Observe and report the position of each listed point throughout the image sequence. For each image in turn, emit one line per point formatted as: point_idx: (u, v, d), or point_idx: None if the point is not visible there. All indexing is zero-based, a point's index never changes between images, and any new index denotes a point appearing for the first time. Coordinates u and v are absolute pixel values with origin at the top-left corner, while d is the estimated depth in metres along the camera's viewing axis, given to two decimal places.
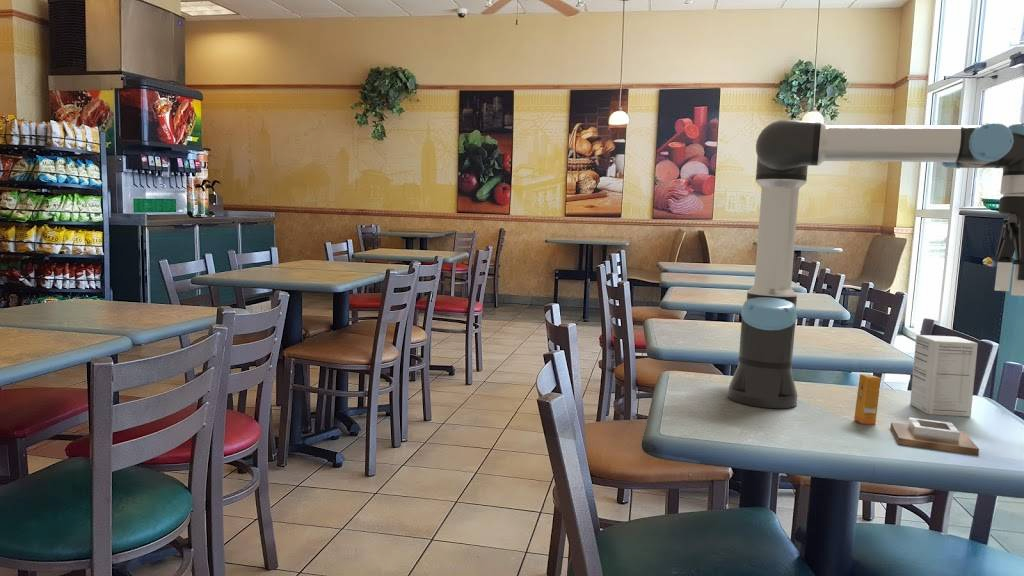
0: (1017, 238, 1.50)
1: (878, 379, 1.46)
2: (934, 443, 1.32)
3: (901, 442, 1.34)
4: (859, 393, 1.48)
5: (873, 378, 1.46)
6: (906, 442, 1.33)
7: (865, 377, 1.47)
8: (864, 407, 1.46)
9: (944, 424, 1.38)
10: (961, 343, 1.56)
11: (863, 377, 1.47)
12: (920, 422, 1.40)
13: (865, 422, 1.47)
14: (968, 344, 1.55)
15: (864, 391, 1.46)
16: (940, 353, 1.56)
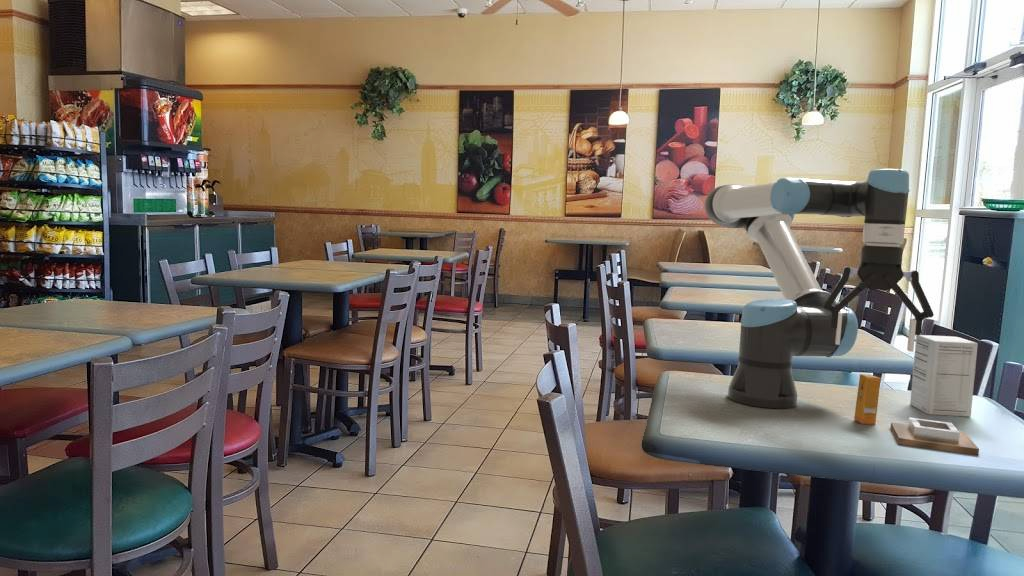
0: None
1: (878, 379, 1.46)
2: (934, 443, 1.32)
3: (901, 442, 1.34)
4: (859, 393, 1.48)
5: (873, 378, 1.46)
6: (906, 442, 1.33)
7: (865, 377, 1.47)
8: (864, 407, 1.46)
9: (944, 424, 1.38)
10: (961, 343, 1.56)
11: (863, 377, 1.48)
12: (920, 422, 1.40)
13: (865, 422, 1.47)
14: (968, 344, 1.55)
15: (864, 391, 1.46)
16: (940, 353, 1.56)
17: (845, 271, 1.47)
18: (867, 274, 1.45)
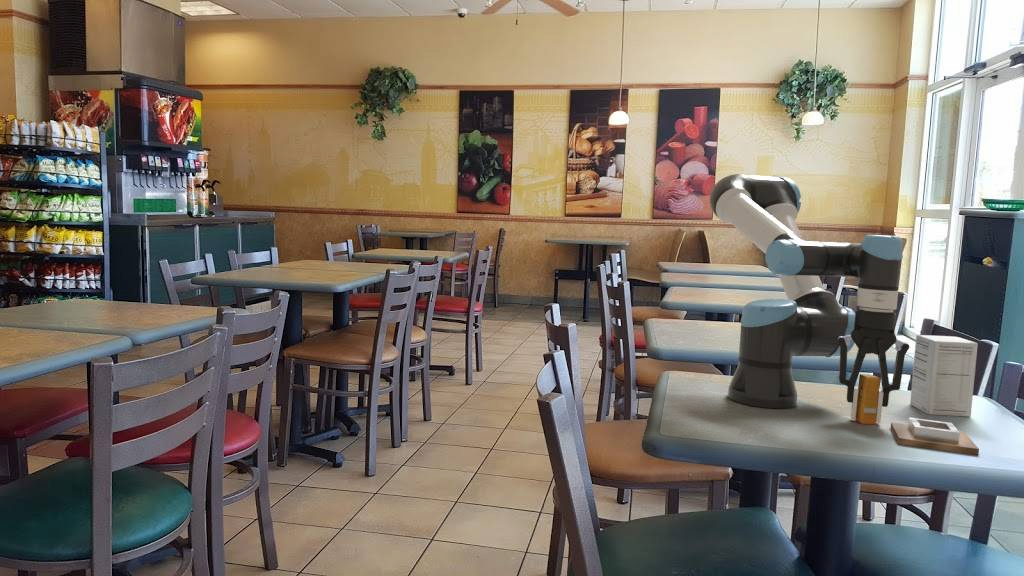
0: (856, 356, 1.49)
1: (878, 379, 1.46)
2: (934, 443, 1.32)
3: (901, 442, 1.34)
4: (859, 393, 1.48)
5: (873, 378, 1.46)
6: (906, 442, 1.33)
7: (865, 377, 1.47)
8: (864, 407, 1.46)
9: (944, 424, 1.38)
10: (961, 343, 1.56)
11: (863, 377, 1.47)
12: (920, 422, 1.40)
13: (865, 422, 1.47)
14: (968, 344, 1.55)
15: (864, 391, 1.46)
16: (940, 353, 1.56)
17: (840, 342, 1.48)
18: (861, 336, 1.47)
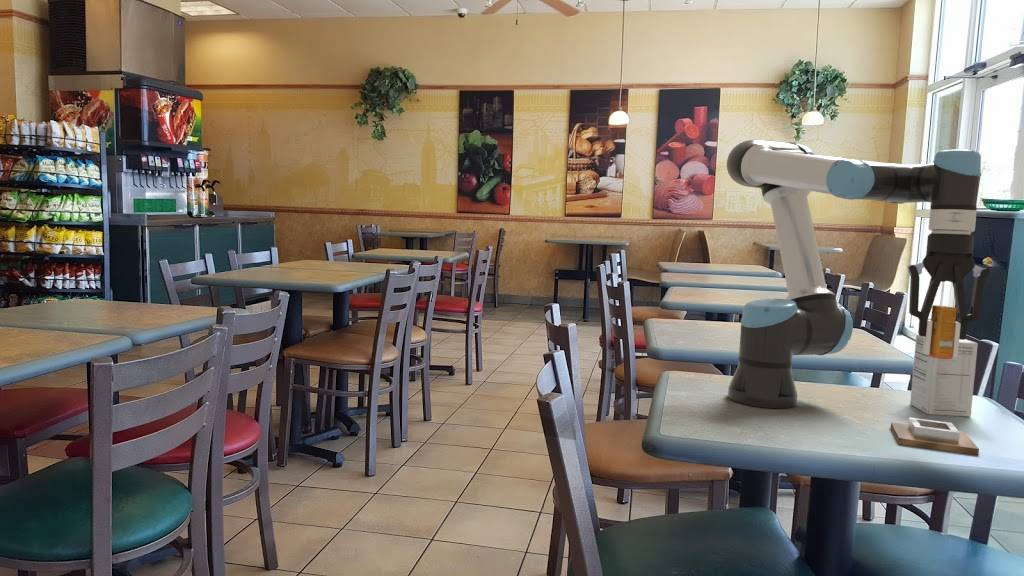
0: (929, 286, 1.36)
1: (954, 309, 1.33)
2: (934, 443, 1.32)
3: (901, 442, 1.34)
4: (932, 326, 1.35)
5: (948, 308, 1.33)
6: (906, 442, 1.33)
7: (939, 307, 1.34)
8: (939, 340, 1.33)
9: (944, 424, 1.38)
10: (961, 343, 1.56)
11: (937, 308, 1.35)
12: (920, 422, 1.40)
13: (941, 357, 1.34)
14: (968, 344, 1.55)
15: (939, 323, 1.34)
16: None
17: (911, 270, 1.35)
18: (935, 262, 1.34)
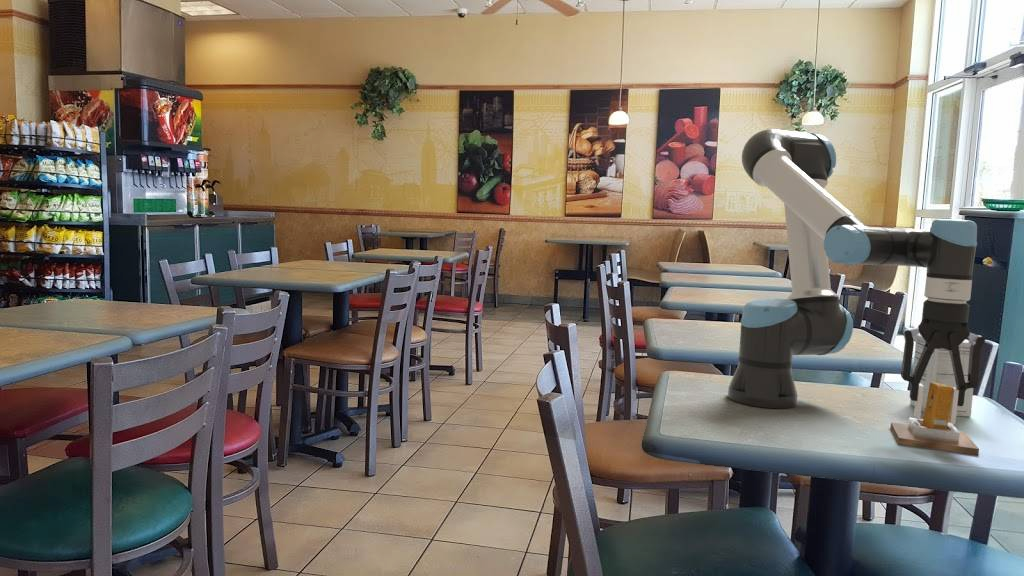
0: None
1: (951, 389, 1.34)
2: (934, 443, 1.32)
3: (901, 442, 1.34)
4: (928, 403, 1.37)
5: (945, 387, 1.34)
6: (906, 442, 1.33)
7: (936, 386, 1.35)
8: (933, 418, 1.35)
9: None
10: (961, 343, 1.56)
11: (934, 386, 1.36)
12: (920, 422, 1.40)
13: None
14: (968, 344, 1.55)
15: (934, 401, 1.35)
16: (940, 353, 1.56)
17: (907, 335, 1.36)
18: (930, 330, 1.35)
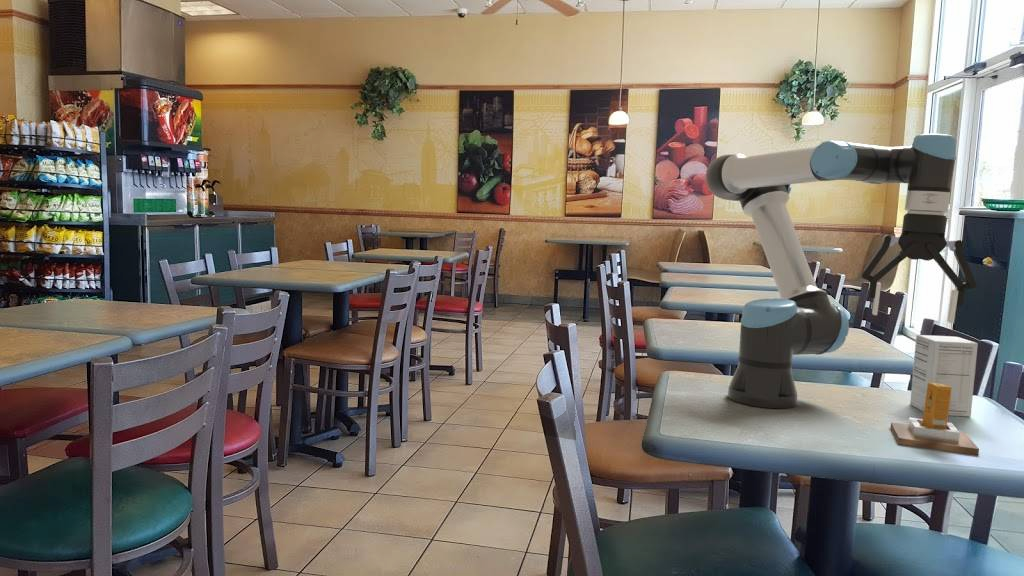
0: (894, 257, 1.44)
1: (949, 388, 1.34)
2: (934, 443, 1.32)
3: (901, 442, 1.34)
4: (927, 403, 1.37)
5: (943, 387, 1.34)
6: (906, 442, 1.33)
7: (934, 386, 1.35)
8: (933, 418, 1.35)
9: None
10: (961, 343, 1.56)
11: (932, 386, 1.36)
12: (920, 422, 1.40)
13: None
14: (968, 344, 1.55)
15: (933, 401, 1.35)
16: (940, 353, 1.56)
17: (885, 240, 1.43)
18: (908, 243, 1.41)
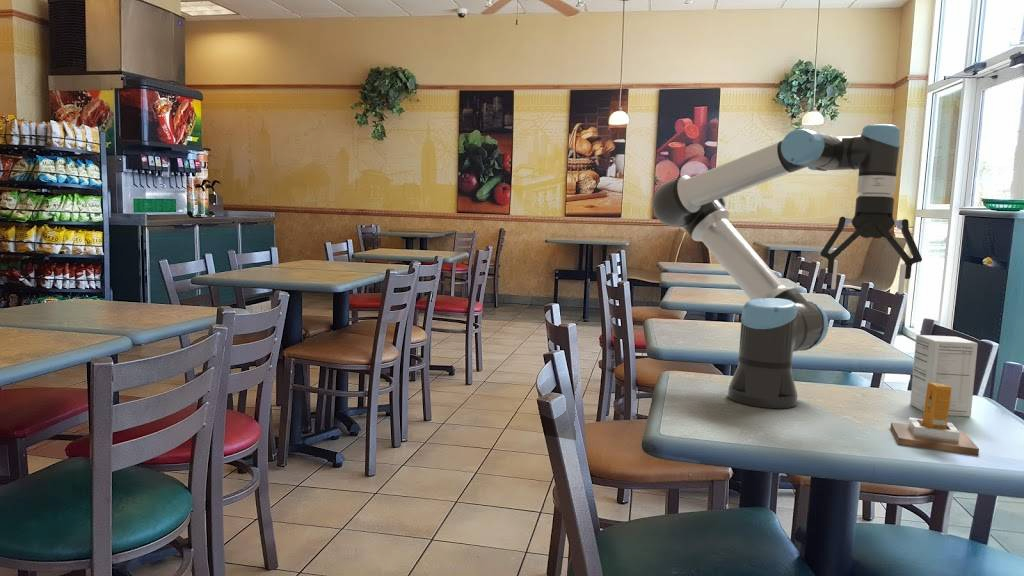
0: (849, 236, 1.59)
1: (949, 388, 1.34)
2: (934, 443, 1.32)
3: (901, 442, 1.34)
4: (927, 403, 1.37)
5: (943, 387, 1.34)
6: (906, 442, 1.33)
7: (934, 386, 1.35)
8: (933, 418, 1.35)
9: None
10: (961, 343, 1.56)
11: (932, 386, 1.36)
12: (920, 422, 1.40)
13: None
14: (968, 344, 1.55)
15: (933, 401, 1.35)
16: (940, 353, 1.56)
17: (840, 220, 1.58)
18: (861, 223, 1.57)
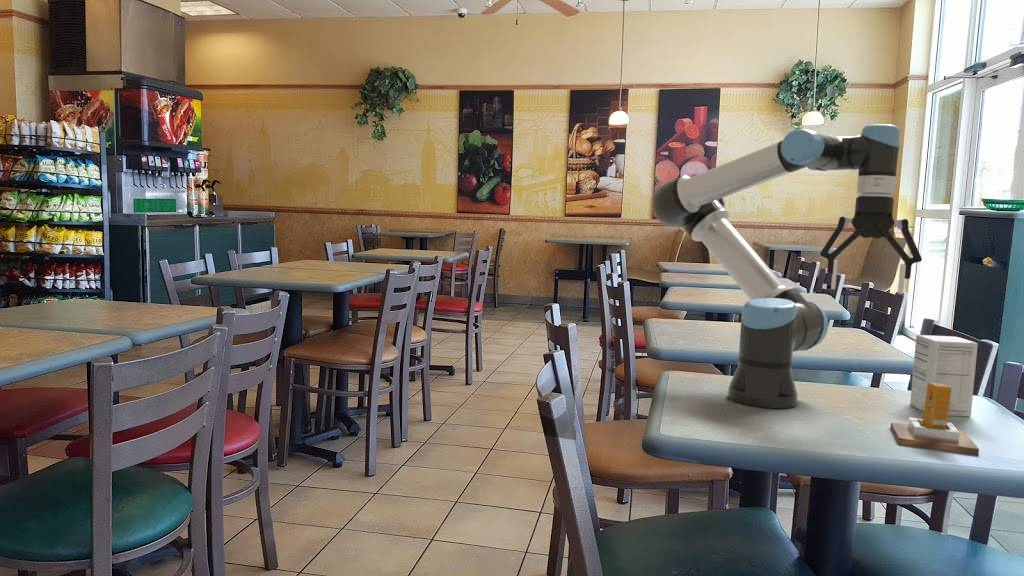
0: (849, 236, 1.60)
1: (949, 388, 1.34)
2: (934, 443, 1.32)
3: (901, 442, 1.34)
4: (927, 403, 1.37)
5: (943, 387, 1.34)
6: (906, 442, 1.33)
7: (934, 386, 1.35)
8: (933, 418, 1.35)
9: None
10: (961, 343, 1.56)
11: (932, 386, 1.36)
12: (920, 422, 1.40)
13: None
14: (968, 344, 1.55)
15: (933, 401, 1.35)
16: (940, 353, 1.56)
17: (840, 220, 1.58)
18: (861, 223, 1.57)
